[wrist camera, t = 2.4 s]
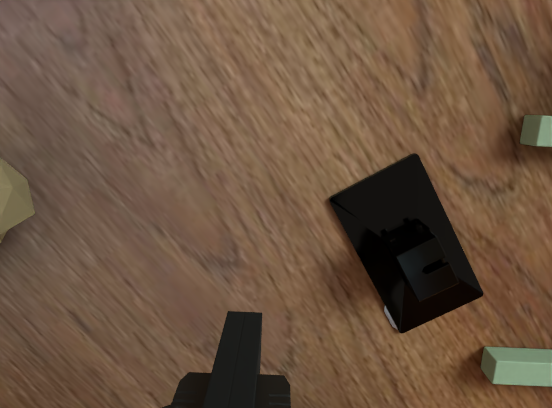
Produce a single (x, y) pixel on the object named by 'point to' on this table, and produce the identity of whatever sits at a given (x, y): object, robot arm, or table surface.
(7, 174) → the tan faceted lump
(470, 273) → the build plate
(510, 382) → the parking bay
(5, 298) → the table surface
